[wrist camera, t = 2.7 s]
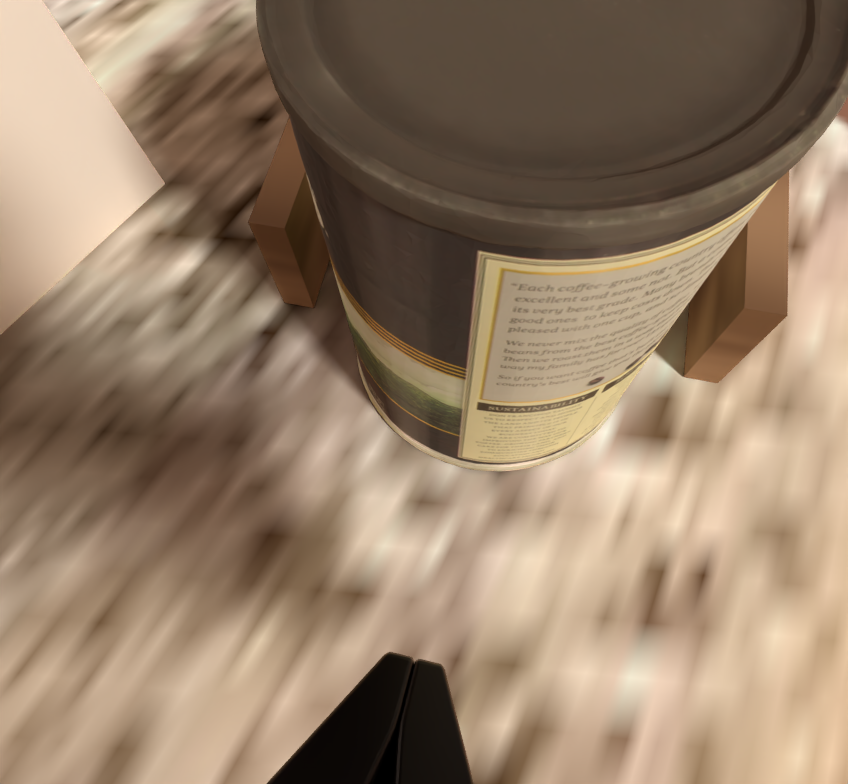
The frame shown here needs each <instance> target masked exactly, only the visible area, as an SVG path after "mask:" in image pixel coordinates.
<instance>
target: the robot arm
mask: <svg viewBox="0 0 848 784" xmlns="http://www.w3.org/2000/svg"><path fill="white" fill-rule="evenodd" d="M267 784H474V782H473V779H472V775H471V771H470V767H469V763H468V759H467V755H466V751H465V747H464V743H463V739H462V735H461V731H460V727H459V723H458V719H457V716H456V712H455V708H454V704H453V700H452V696H451V692H450V688H449V684H448V680H447V676H446V672H445V669H444V667H443V666H442V665H441V664H439V663H434V662H430V661H426V660H422V659H418V660H416V661H415V664H414V659H413V658H412V657H410V656H405V655H401V654H397V653H393V652H389V653H386V654H385V655H384V656H383V657H382V658H381V659H380V660H379V661H378V662H377V663H376V665H375V666H374V667H373V668H372V669H371V670H370V671H369V672H368V673H367V674H366V676H365V677H364V678H363V679H362V680H361V681H360V682H359V683H358V684H357V685H356V686H355V688H354V689H353V690H352V691H351V692H350V693H349V694H348V695H347V696H346V697H345V698H344V700H343V701H342V702H341V703H340V704H339V705H338V706H337V707H336V708H335V709H334V711H333V712H332V713H331V714H330V715H329V716H328V717H327V718H326V719H325V720H324V721H323V723H322V724H321V725H320V726H319V727H318V728H317V729H316V730H315V731H314V732H313V733H312V735H311V736H310V737H309V738H308V739H307V740H306V741H305V742H304V743H303V744H302V746H301V747H300V748H299V749H298V750H297V751H296V752H295V753H294V754H293V755H292V756H291V758H290V759H289V760H288V761H287V762H286V763H285V764H284V765H283V766H282V767H281V769H280V770H279V771H278V772H277V773H276V774H275V775H274V776H273V777H272V778H271V779H270V781H269V782H268V783H267Z"/></svg>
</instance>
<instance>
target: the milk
mask: <svg viewBox="0 0 848 784" xmlns="http://www.w3.org/2000/svg"><path fill="white" fill-rule="evenodd" d="M164 184H165V183H164V181H163V180H162V178H161V177H160V175H159V174H158V172H157V171H156V169H155V168H154V166H153V165H152V163H151V162H150V160H149V159H148V157H147V156H146V154H145V153H144V151H143V150H142V148H141V147H140V145H139V144H138V142H137V141H136V139H135V138H134V136H133V135H132V133H131V132H130V130H129V129H128V127H127V126H126V124H125V123H124V122H123V120H122V119H121V117H120V116H119V114H118V113H117V111H116V110H115V108H114V107H113V105H112V104H111V102H110V101H109V99H108V98H107V96H106V95H105V93H104V92H103V90H102V89H101V87H100V86H99V84H98V83H97V81H96V80H95V78H94V77H93V75H92V74H91V72H90V71H89V69H88V68H87V66H86V65H85V63H84V62H83V60H82V59H81V57H80V56H79V54H78V53H77V51H76V50H75V48H74V47H73V46H72V44H71V43H70V41H69V40H68V38H67V37H66V35H65V34H64V32H63V31H62V29H61V28H60V26H59V25H58V23H57V22H56V20H55V19H54V17H53V16H52V14H51V13H50V11H49V10H48V8H47V7H46V5H45V4H44V2H43V1H42V0H0V335H1V334H2V333H3V332H4V331H5V330H6V329H7V328H9V327H10V326H11V325H12V324H13V323H14V322H15V321H16V320H17V319H18V318H19V317H21V316H22V315H23V314H24V313H25V312H26V311H27V310H28V309H29V308H30V307H31V306H33V305H34V304H35V303H36V302H37V301H38V300H39V299H40V298H41V297H42V296H43V295H45V294H46V293H47V292H48V291H49V290H50V289H51V288H52V287H53V286H54V285H55V284H57V283H58V282H59V281H60V280H61V279H62V278H63V277H64V276H65V275H66V274H67V273H69V272H70V271H71V270H72V269H73V268H74V267H75V266H76V265H77V264H78V263H79V262H81V261H82V260H83V259H84V258H85V257H86V256H87V255H88V254H89V253H90V252H91V251H92V250H94V249H95V248H96V247H97V246H98V245H99V244H100V243H101V242H102V241H103V240H104V239H106V238H107V237H108V236H109V235H110V234H111V233H112V232H113V231H114V230H115V229H116V228H118V227H119V226H120V225H121V224H122V223H123V222H124V221H125V220H126V219H127V218H128V217H130V216H131V215H132V214H133V213H134V212H135V211H136V210H137V209H138V208H139V207H140V206H142V205H143V204H144V203H145V202H146V201H147V200H148V199H149V198H150V197H151V196H152V195H154V194H155V193H156V192H157V191H158V190H159V189H160V188H161V187H162V186H163V185H164Z"/></svg>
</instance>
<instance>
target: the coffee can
mask: <svg viewBox="0 0 848 784" xmlns="http://www.w3.org/2000/svg"><path fill="white" fill-rule="evenodd" d="M256 16H257V27H258V33H259V37H260V42H261V46H262V50H263V53H264V56H265V59H266V62H267V65H268V69H269V71H270V74H271V77H272V80H273V83H274V86H275V89H276V91H277V93H278V95H279V97H280V99H281V101H282V103H283V105H284V107H285V109H286V111H287V112H288V114H289V117H290V121H291V124H292V128H293V132H294V136H295V139H296V142H297V145H298V149H299V152H300V155H301V158H302V161H303V165H304V168H305V172H306V176H307V179H308V182H309V186H310V190H311V194H312V198H313V201H314V205H315V209H316V212H317V216H318V219H319V222H320V226H321V229H322V233H323V236H324V239H325V242H326V245H327V249H328V253H329V256H330V260H331V263H332V267H333V270H334V274H335V278H336V281H337V285H338V288H339V292H340V295H341V299H342V302H343V306H344V309H345V313H346V317H347V321H348V324H349V328H350V331H351V334H352V337H353V341H354V345H355V348H356V352H357V362H358V367H359V371H360V375H361V378H362V381H363V384H364V387H365V389H366V391H367V393H368V396H369V398H370V400H371V402H372V403H373V405H374V406H375V408H376V409H377V411H378V412H379V414H380V415H381V416H382V418H383V419H384V420H385V421H386V422H387V423H388V425H389V426H390V427H391V428H392V429H393V430H394V431H395V432H396V433H397V434H399V435H400V436H401V437H402V438H403V439H405V440H406V441H407V442H409V443H410V444H411V445H413V446H414V447H416V448H417V449H419V450H421V451H423V452H425V453H426V454H428V455H430V456H432V457H434V458H437V459H439V460H442V461H444V462H446V463H450V464H453V465H456V466H459V467H463V468H468V469H473V470H483V471H511V470H519V469H525V468H530V467H534V466H537V465H541V464H544V463H547V462H550V461H552V460H555V459H557V458H559V457H561V456H564V455H565V454H568V453H570V452H572V451H573V450H575V449H576V448H578V447H579V446H581V445H582V444H583V443H584V442H585V441H586V440H588V439H589V438H590V437H591V436H592V435H594V434H595V433H596V432H597V431H598V430H599V429H600V428H601V426H602V425H603V424H604V423H605V422H606V420H607V419H608V417H609V416H610V415H611V414H612V412H613V411H614V409H615V407H616V406H617V404H618V402H619V400H620V398H621V396H622V394H623V393H624V391H625V390H626V389H627V387H628V386H629V385H630V383H631V382H632V380H633V379H634V377H635V376H636V375H637V373H638V372H639V371H640V369H641V368H642V367H643V365H644V364H645V362H646V361H647V360H648V358H649V357H650V355H651V354H652V353H653V351H654V350H655V348H656V347H657V346H658V344H659V343H660V342H661V340H662V339H663V338H664V336H665V335H666V334H667V333H668V331H669V329H670V328H671V327H672V325H673V324H674V322H675V321H676V320H677V318H678V317H679V316H680V314H681V313H682V311H683V310H684V309H685V307H686V306H687V305H688V303H689V302H690V300H691V299H692V298H693V296H694V295H695V293H696V292H697V291H698V289H699V288H700V287H701V285H702V284H703V282H704V281H705V280H706V278H707V277H708V276H709V274H710V273H711V271H712V270H713V269H714V267H715V266H716V265H717V263H718V262H719V260H720V259H721V258H722V256H723V255H724V254H725V252H726V251H727V249H728V248H729V247H730V245H731V244H732V242H733V241H734V240H735V238H736V237H737V236H738V234H739V233H740V232H741V230H742V229H743V228H744V226H745V225H746V223H747V222H748V221H749V219H750V218H751V217H752V215H753V214H754V213H755V211H756V210H757V209H758V207H759V206H760V204H761V203H762V202H763V200H764V199H765V198H766V196H767V195H768V193H769V192H770V191H771V189H772V188H773V187H774V185H775V184H776V182H777V181H778V180H779V179H780V178H781V177H782V176H783V175H785V174H786V173H787V172H788V171H789V170H790V169H791V168H792V167H793V166H794V165H795V164H796V163H797V162H798V161H800V159H801V158H802V157H803V156H804V155H805V154H806V153H807V151H808V150H809V149H810V148H811V147H812V146H813V145H814V144H815V142H816V141H817V140H818V139H819V138H820V137H821V136H822V134H823V133H824V132H825V131H826V129H827V128H828V127H829V125H830V124H831V122H832V121H833V120H834V118H835V117H836V116H837V114H838V113H839V111H840V110H841V108H842V107H843V105H844V103H845V101H846V99H847V97H848V0H256Z"/></svg>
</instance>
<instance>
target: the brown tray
mask: <svg viewBox="0 0 848 784" xmlns="http://www.w3.org/2000/svg"><path fill="white" fill-rule="evenodd" d="M788 214H789V171H788V172H787V173H786V174H785V175H783V176H782V177H781V178H780V179H779V180H778V181H777V182H776V184H775V185H774V187H773V188H772V189H771V191H770V192H769V193H768V195H767V196H766V198H765V199H764V200H763V202H762V203H761V204H760V206H759V207H758V209H757V210H756V211H755V213H754V214H753V215H752V217H751V218H750V219H749V221H748V222H747V223H746V225H745V226H744V228H743V229H742V230H741V232H740V233H739V234H738V236H737V237H736V238H735V240H734V241H733V242H732V244H731V245H730V247H729V248H728V249H727V251H726V252H725V254H724V255H723V256H722V258H721V259H720V260H719V262H718V263H717V265H716V266H715V267H714V269H713V270H712V271H711V273H710V274H709V276H708V277H707V278H706V280H705V281H704V282H703V284H702V285H701V287H700V288H699V289H698V291H697V292H696V293H695V295H694V296H693V298H692V299H691V300H690V302H689V315H688V328H687V341H686V354H685V367H684V377H687V378H692V379H698V380H703V381H709V382H714V383H718V382H719V381H720V380H721V379H722V378H724V377H725V376H726V375H727V374H728V373H729V372H730V371H731V370H732V369H733V368H734V367H735V366H736V365H737V364H738V363H739V362H740V361H741V360H742V359H743V358H744V357H745V356H746V355H747V354H748V353H749V352H750V351H751V350H752V349H753V348H754V347H755V346H756V345H758V344H759V343H760V342H761V341H762V340H763V339H764V338H765V337H766V336H767V335H768V334H769V333H770V332H771V331H772V330H773V329H774V328H775V327H776V326H777V325H778V324H779V323H780V322H781V321H782V320H783V319H784V318H785V317H786V316H787V297H788ZM248 223H249V225H250V228H251V230H252V232H253V234H254V236H255V239H256V241H257V243H258V245H259V248H260V250H261V252H262V254H263V256H264V259H265V261H266V263H267V265H268V268H269V270H270V272H271V274H272V277H273V279H274V281H275V283H276V285H277V288H278V290H279V292H280V294H281V297H282V299H283V301H284V303H289V304H295V305H300V306H305V307H311V308H314V306H315V303H316V300H317V297H318V294H319V291H320V288H321V285H322V282H323V278H324V275H325V272H326V269H327V266H328V263H329V260H330V256H329V253H328V249H327V245H326V242H325V239H324V236H323V233H322V229H321V226H320V222H319V219H318V216H317V212H316V209H315V205H314V201H313V198H312V194H311V190H310V186H309V182H308V179H307V176H306V172H305V168H304V165H303V161H302V158H301V155H300V152H299V149H298V145H297V142H296V139H295V136H294V132H293V128H292V124H291V121H290V117H289V119H288V121H287V124H286V126H285V129H284V132H283V134H282V137H281V139H280V142H279V144H278V147H277V150H276V152H275V155H274V157H273V160H272V162H271V165H270V167H269V170H268V173H267V175H266V178H265V180H264V183H263V185H262V188H261V190H260V193H259V196H258V198H257V201H256V203H255V206H254V208H253V211H252V213H251V216H250V219H249V221H248Z"/></svg>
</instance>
